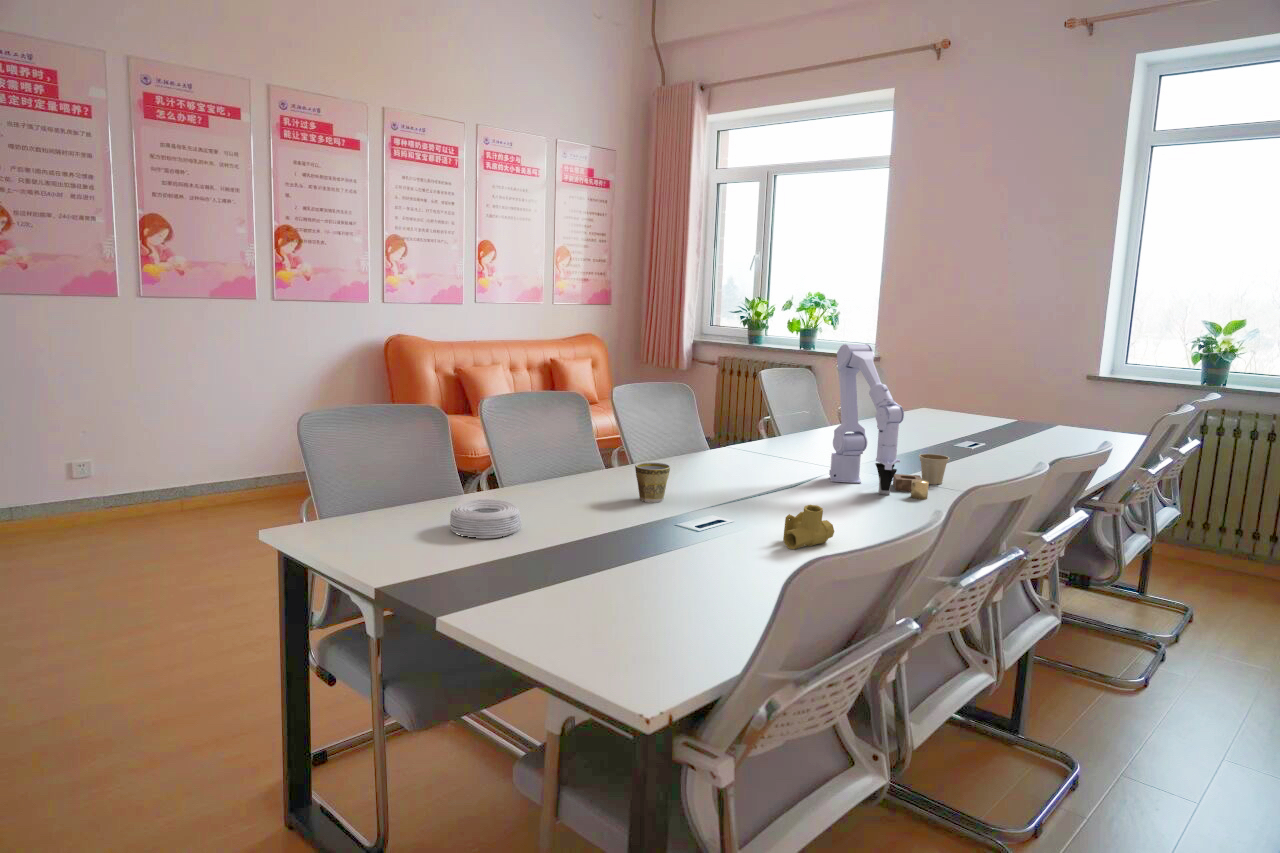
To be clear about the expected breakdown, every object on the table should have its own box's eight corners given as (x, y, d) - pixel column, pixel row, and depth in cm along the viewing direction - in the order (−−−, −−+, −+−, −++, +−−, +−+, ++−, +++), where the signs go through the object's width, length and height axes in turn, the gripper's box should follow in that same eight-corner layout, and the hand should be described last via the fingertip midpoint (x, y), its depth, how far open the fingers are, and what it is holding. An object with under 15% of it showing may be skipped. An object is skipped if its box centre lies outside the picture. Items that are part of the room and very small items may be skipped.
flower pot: (951, 486, 273) (953, 459, 271) (921, 485, 273) (923, 459, 272) (941, 479, 282) (944, 454, 281) (913, 479, 282) (915, 453, 281)
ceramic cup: (665, 505, 240) (666, 470, 238) (631, 502, 242) (631, 468, 240) (673, 494, 252) (674, 461, 251) (640, 492, 254) (641, 459, 252)
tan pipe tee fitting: (834, 547, 207) (804, 531, 215) (839, 507, 204) (809, 493, 212) (797, 558, 200) (767, 542, 208) (802, 518, 197) (772, 503, 204)
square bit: (879, 494, 259) (880, 475, 258) (878, 492, 262) (879, 473, 261) (889, 495, 258) (890, 475, 257) (888, 493, 261) (889, 473, 260)
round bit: (911, 499, 254) (912, 482, 254) (909, 495, 259) (910, 479, 258) (928, 500, 254) (929, 483, 253) (926, 496, 258) (927, 480, 257)
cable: (490, 517, 224) (490, 495, 223) (536, 530, 213) (536, 507, 212) (435, 530, 210) (435, 506, 209) (481, 545, 199) (481, 520, 198)
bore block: (895, 490, 265) (896, 479, 265) (892, 484, 273) (893, 473, 272) (922, 491, 264) (923, 480, 263) (918, 486, 272) (919, 475, 271)
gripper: (904, 449, 250) (900, 494, 252) (898, 441, 264) (895, 484, 266) (879, 448, 251) (875, 493, 253) (875, 440, 265) (872, 482, 267)
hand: (884, 488), depth 260 cm, fingers open, 5 cm apart
